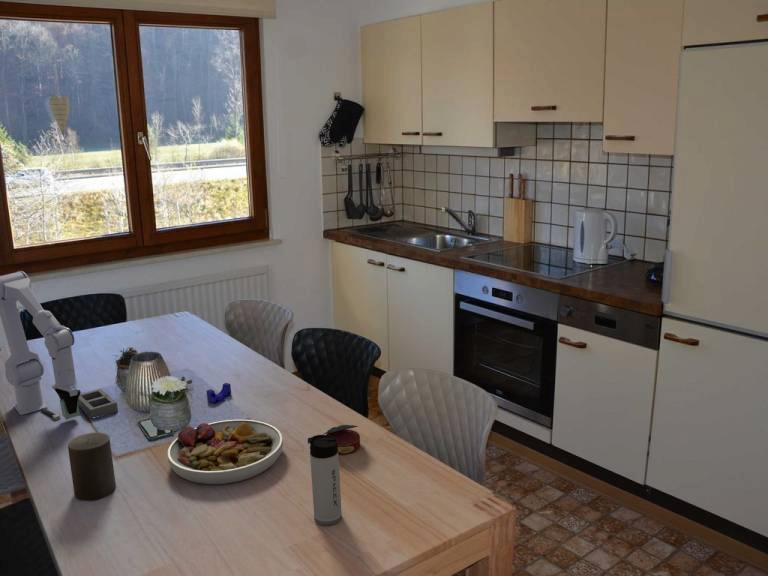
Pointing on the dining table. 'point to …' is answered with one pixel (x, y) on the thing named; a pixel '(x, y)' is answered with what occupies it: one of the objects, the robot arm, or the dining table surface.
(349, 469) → the dining table surface
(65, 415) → the block
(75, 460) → the pillar candle
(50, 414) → the cable piece
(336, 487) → the travel mug
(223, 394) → the cable holder
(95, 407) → the grey piece
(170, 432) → the smartphone
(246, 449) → the bowl
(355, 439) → the canned food
